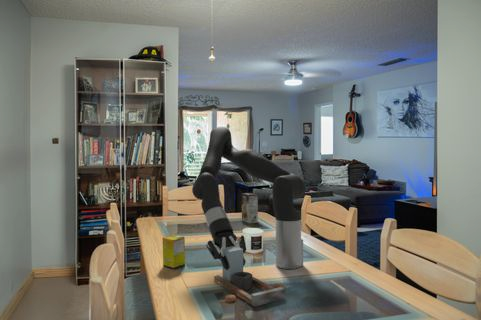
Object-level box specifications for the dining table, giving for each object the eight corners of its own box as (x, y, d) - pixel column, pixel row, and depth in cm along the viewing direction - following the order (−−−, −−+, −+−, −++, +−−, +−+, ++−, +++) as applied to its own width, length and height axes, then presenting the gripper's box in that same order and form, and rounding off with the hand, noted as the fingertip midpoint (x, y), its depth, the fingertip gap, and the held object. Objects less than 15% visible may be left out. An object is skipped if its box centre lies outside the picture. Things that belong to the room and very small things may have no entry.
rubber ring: (245, 281, 128) (245, 270, 128) (255, 287, 123) (255, 276, 123) (229, 285, 125) (229, 274, 125) (238, 291, 120) (238, 279, 120)
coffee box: (241, 220, 229) (240, 193, 229) (251, 219, 232) (250, 192, 231) (248, 223, 221) (247, 195, 220) (258, 222, 224) (258, 194, 223)
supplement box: (174, 262, 149) (174, 234, 149) (185, 265, 146) (185, 236, 145) (162, 266, 145) (161, 237, 144) (173, 270, 141) (172, 239, 141)
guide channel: (253, 272, 137) (253, 263, 137) (297, 295, 116) (297, 285, 116) (201, 283, 127) (200, 274, 127) (239, 310, 106) (239, 299, 106)
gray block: (235, 274, 132) (235, 245, 131) (243, 279, 128) (243, 249, 127) (222, 277, 130) (222, 247, 129) (229, 282, 125) (229, 251, 125)
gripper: (233, 226, 142) (250, 269, 133) (196, 231, 135) (212, 276, 126) (240, 214, 137) (258, 257, 128) (202, 219, 130) (219, 265, 121)
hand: (235, 266), depth 127 cm, fingers closed on gray block, 5 cm apart
